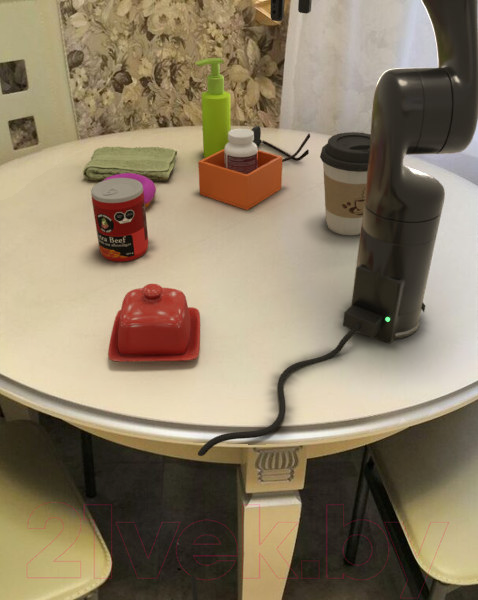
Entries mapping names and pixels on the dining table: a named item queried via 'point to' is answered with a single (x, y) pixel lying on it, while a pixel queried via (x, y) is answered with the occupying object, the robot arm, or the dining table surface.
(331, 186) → the coffee cup
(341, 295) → the dining table surface
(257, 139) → the sunglasses
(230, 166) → the pill bottle
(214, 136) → the soap dispenser
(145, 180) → the donut
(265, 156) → the bin
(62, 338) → the dining table surface
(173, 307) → the butter dish
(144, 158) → the washcloth
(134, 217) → the canned food
